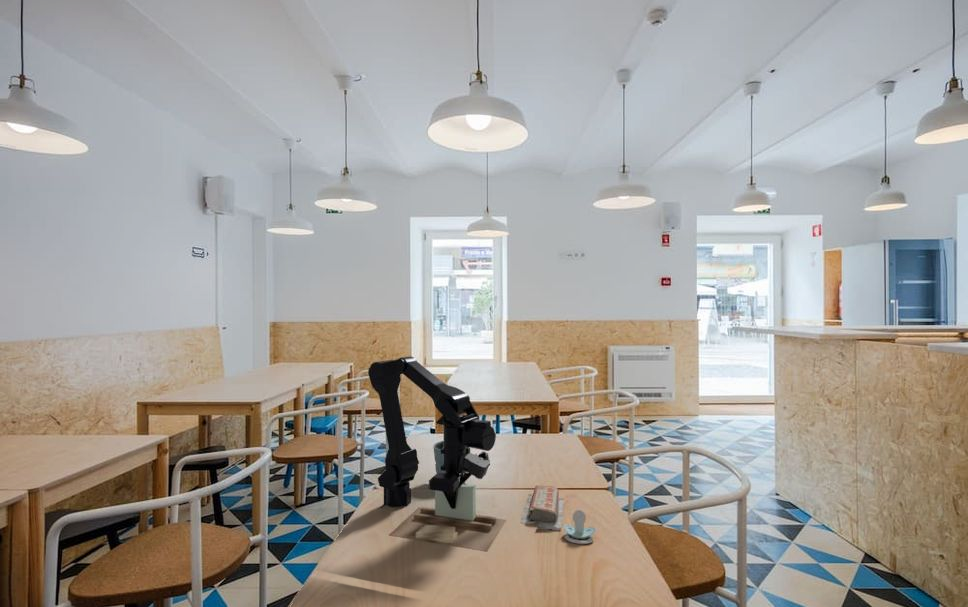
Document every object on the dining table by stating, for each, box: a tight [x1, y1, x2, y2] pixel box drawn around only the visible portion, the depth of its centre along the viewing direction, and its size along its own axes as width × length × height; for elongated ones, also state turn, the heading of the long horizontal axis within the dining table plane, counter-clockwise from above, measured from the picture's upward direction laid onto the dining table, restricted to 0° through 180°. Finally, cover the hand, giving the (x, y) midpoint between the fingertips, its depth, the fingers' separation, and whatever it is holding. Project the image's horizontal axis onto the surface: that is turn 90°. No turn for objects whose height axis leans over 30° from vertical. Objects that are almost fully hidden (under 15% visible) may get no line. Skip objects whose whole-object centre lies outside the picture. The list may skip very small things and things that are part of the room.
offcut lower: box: [416, 527, 458, 544], centre depth 112 cm, size 9×4×1 cm, turn 72°
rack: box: [388, 506, 507, 552], centre depth 117 cm, size 24×16×2 cm, turn 72°
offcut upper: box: [422, 525, 455, 537], centre depth 112 cm, size 7×3×1 cm, turn 82°
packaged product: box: [520, 484, 565, 531], centre depth 127 cm, size 18×5×10 cm
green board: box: [434, 483, 477, 521], centre depth 121 cm, size 10×2×8 cm, turn 72°
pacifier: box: [563, 509, 596, 545], centre depth 114 cm, size 7×6×6 cm
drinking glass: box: [432, 440, 466, 484], centre depth 147 cm, size 10×10×12 cm
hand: (455, 506), depth 121 cm, fingers closed on green board, 2 cm apart
